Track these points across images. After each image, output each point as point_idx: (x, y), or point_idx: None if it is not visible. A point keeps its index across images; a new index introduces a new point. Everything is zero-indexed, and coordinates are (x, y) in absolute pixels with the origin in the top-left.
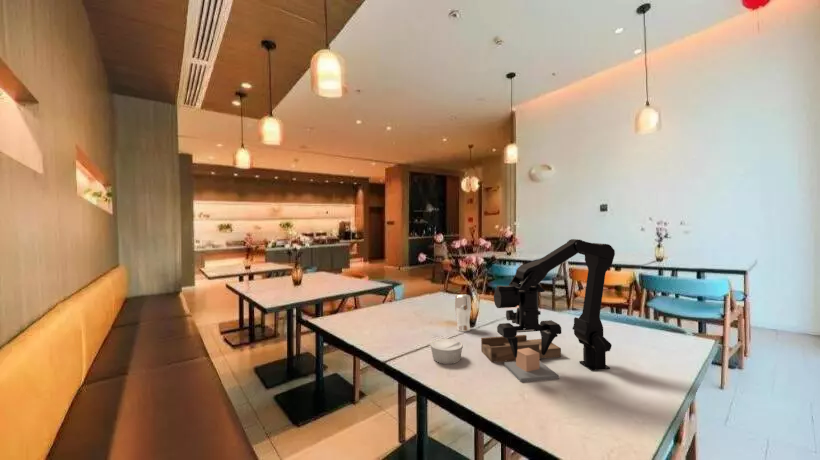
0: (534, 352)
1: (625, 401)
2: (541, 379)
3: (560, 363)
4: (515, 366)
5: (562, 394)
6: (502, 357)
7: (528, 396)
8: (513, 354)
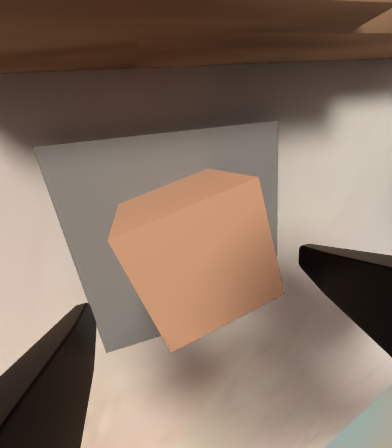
0: (256, 288)
1: (342, 377)
2: None
3: (352, 144)
4: (110, 219)
5: (226, 385)
6: (22, 57)
7: (112, 424)
8: (65, 318)
